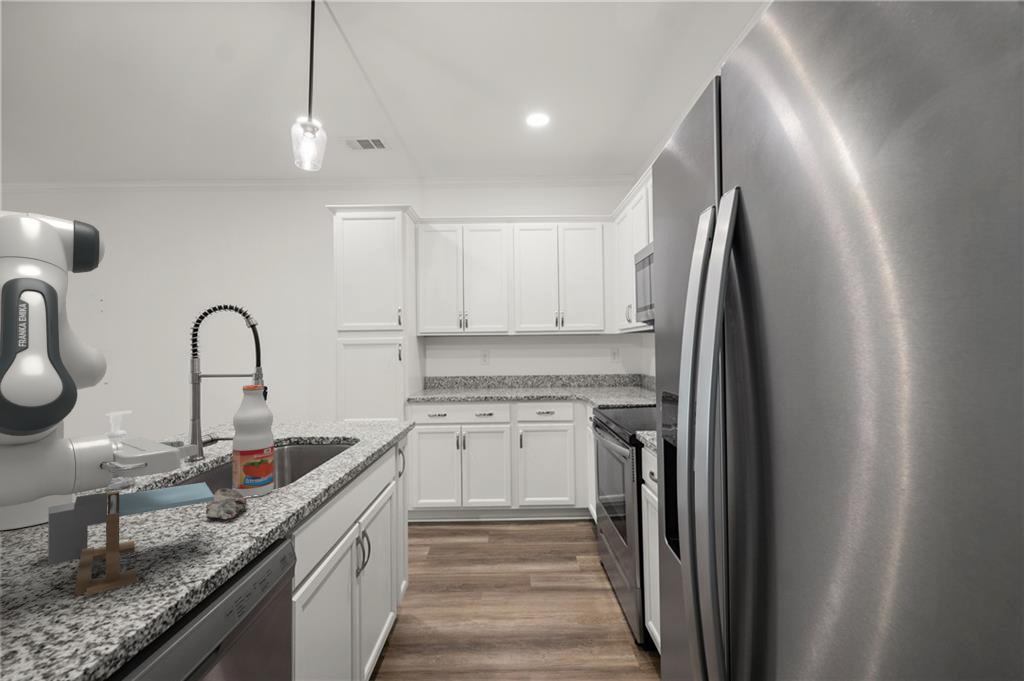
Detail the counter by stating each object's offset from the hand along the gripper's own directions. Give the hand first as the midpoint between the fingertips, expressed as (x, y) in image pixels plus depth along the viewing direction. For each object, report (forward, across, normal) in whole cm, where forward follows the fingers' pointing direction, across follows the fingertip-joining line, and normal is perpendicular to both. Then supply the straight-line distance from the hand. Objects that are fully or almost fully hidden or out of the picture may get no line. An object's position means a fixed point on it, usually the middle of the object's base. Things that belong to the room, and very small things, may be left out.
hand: (189, 447), depth 87 cm
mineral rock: (+13, +15, +19) cm, 27 cm away
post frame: (-11, +2, +19) cm, 22 cm away
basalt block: (-14, +15, +19) cm, 28 cm away
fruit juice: (+23, +25, +19) cm, 39 cm away
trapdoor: (-6, +1, +10) cm, 12 cm away
